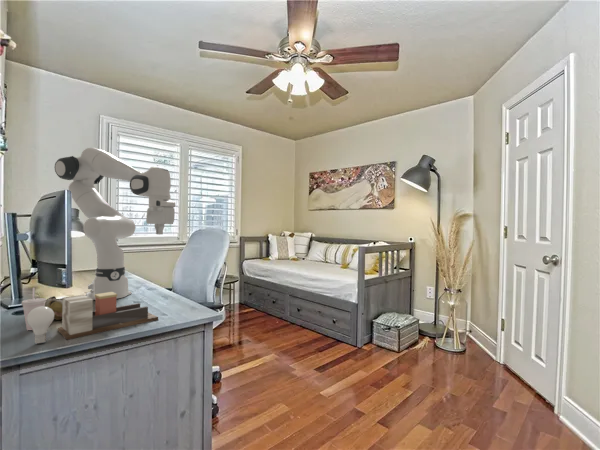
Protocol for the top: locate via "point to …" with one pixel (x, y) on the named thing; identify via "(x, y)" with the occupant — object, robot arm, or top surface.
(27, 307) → the smoothie
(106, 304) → the plunger
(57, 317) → the ceramic sculpture
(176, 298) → the top surface
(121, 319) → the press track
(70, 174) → the robot arm
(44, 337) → the lightbulb
